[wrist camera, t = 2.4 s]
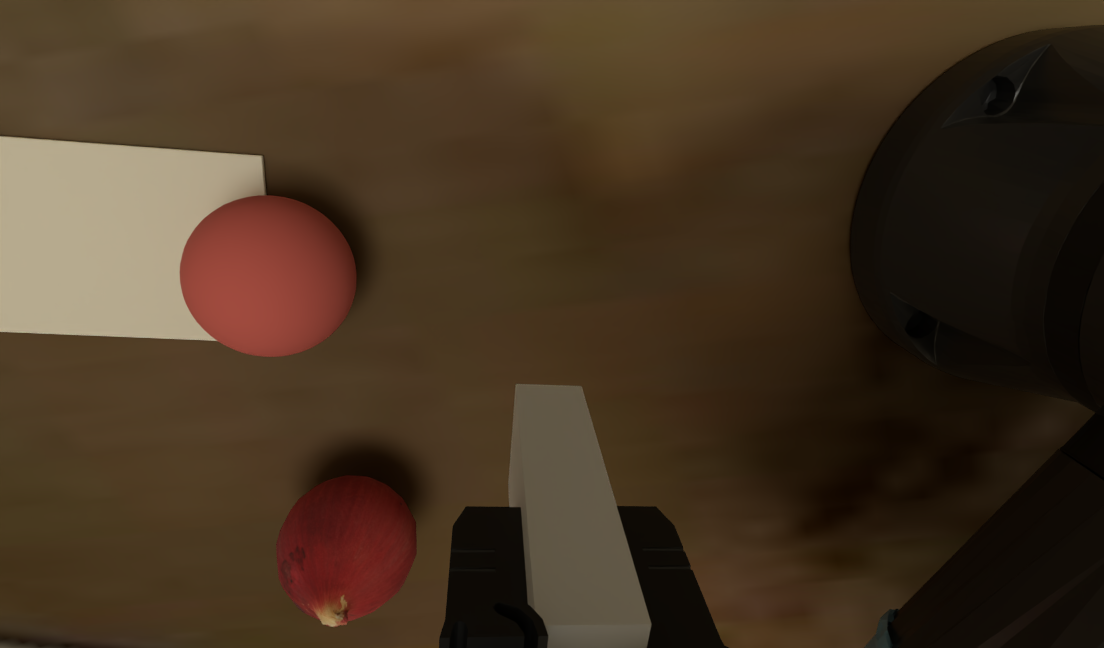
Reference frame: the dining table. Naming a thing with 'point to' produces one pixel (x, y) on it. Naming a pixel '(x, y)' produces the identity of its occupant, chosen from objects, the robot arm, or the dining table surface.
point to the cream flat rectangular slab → (106, 233)
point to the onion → (346, 548)
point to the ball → (268, 276)
